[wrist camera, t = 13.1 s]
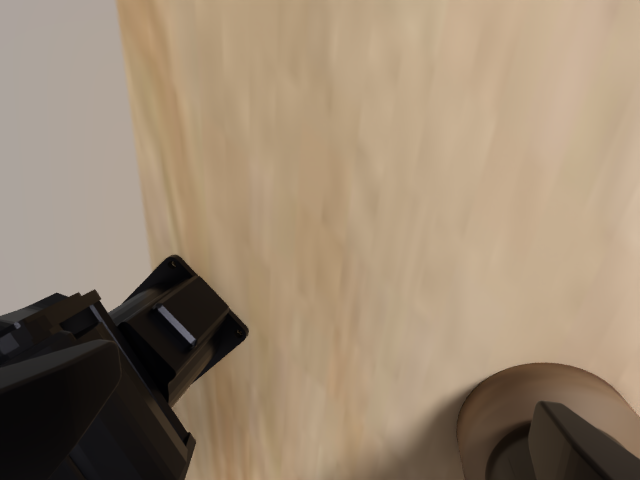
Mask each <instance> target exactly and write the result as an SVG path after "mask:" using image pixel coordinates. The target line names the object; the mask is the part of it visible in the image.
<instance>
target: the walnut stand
mask: <svg viewBox="0 0 640 480" xmlns="http://www.w3.org/2000/svg"><path fill="white" fill-rule="evenodd" d="M540 400H544V401H551V402H559V403H562V404H564V405H565V406H567V407H568V408H569V409H571V410H572V411H574V412H575V413H576V414H578V415H579V416H581V417H582V418H583V419H585V420H586V421H588V422H589V423H590V424H592V425H593V426H594V427H596V428H599V429H601V430H602V431H604V432H606V433H608V434H609V435H611V436H612V437H614V438H615V439H616V440H617V441H619V442H620V443H621V444H622V445H623V446H624V447H625V448H626V449H627V450H628V451H629V452H631V453H632V454H634V455H635V456H636V457H638V458H639V459H640V417H639V416H638V415H637V414H636V412H635V411H634V410H633V409H632V408H631V407H630V405H629V404H628V403H627V402H626V401H625V399H624V398H623V397H622V396H621V395H620V394H619V393H618V392H617V391H616V390H615V389H614V388H613V387H612V386H611V385H610V384H608V383H607V382H606V381H604V380H603V379H601V378H599V377H598V376H596V375H594V374H592V373H590V372H587V371H585V370H583V369H580V368H576V367H573V366H569V365H563V364H557V363H532V364H525V365H520V366H516V367H512V368H509V369H506V370H503V371H501V372H499V373H497V374H495V375H493V376H491V377H489V378H488V379H486V380H485V381H483V382H482V383H481V384H480V385H479V386H477V387H476V388H475V389H474V390H473V391H472V393H471V394H470V395H469V396H468V397H467V399H466V401H465V402H464V404H463V406H462V408H461V410H460V413H459V417H458V421H457V440H458V445H459V451H460V456H461V461H462V466H463V471H464V476H465V480H485V469H486V464H487V461H488V458H489V456H490V454H491V452H492V450H493V449H494V447H495V446H496V445H497V443H498V442H499V441H500V440H501V439H502V438H503V437H504V436H506V435H507V434H508V433H510V432H511V431H513V430H514V429H516V428H518V427H520V426H523V425H525V424H528V423H531V422H532V418H533V413H534V408H535V405H536V403H537V402H538V401H540Z"/></svg>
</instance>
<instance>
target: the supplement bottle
mask: <svg viewBox="0 0 640 480" xmlns="http://www.w3.org/2000/svg"><path fill="white" fill-rule="evenodd" d="M530 427H531V423H528V424H525V425H523V426H520V427H518V428H516V429H514V430H513V431H511V432H510V433H508V434H507V435H506V436H504V437H503V438H502V439H501V440H500V441H499V442H498V443H497V445H496V446H495V447H494V449H493V450H492V452H491V454H490V456H489V458H488V461H487V464H486V469H485V480H537V479H536V474H535V470H534V466H533V462H532V458H531V454H530V449H529V432H530ZM597 429H599V428H597ZM599 430H600V431H601V432H603V433H604V434H606V435H607V436H608V437H610V438H611V439H613V440H614V441H615V442H617V443H618V444H620V445H621V446H622V447H624V446H623V445H622V444H621V443H620V442H619V441H617V440H616V439H615V438H614V437H612V436H611V435H609V434H608V433H606V432H604V431H602V430H601V429H599ZM624 448H625V447H624ZM625 449H626V448H625Z"/></svg>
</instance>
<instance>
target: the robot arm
mask: <svg viewBox="0 0 640 480" xmlns="http://www.w3.org/2000/svg"><path fill="white" fill-rule="evenodd" d="M172 261H173V262H175V264H176V267H174V266H173V265H172ZM99 300H101V298H100V296H99V294H98V293H97V291H96V290H93V291H91V292H89V293H87V294H85V295H83V296H81V294H80V293H76V294H74V295H72V296H70V297H67V296H64V295H62V294H59V293H55V294H53V295H51V296H49V297H47V298H44V299H42V300H40V301H38V302H36V303H34V304H32V305H29V306H27V307H25V308H22V309H20V310H17V311H14V312H11V313H8V314H5V315H2V316H0V480H185V477H186V474H187V470H188V467H189V464H190V461H191V457H192V454H193V451H194V448H195V444H196V440H195V439H194V437H193V436H192V434H191V433H190V432H188V433H187V431H186V430H185V428H184V427H183V425H182V424H181V422H180V421H179V419H178V418H177V416H176V415H175V413H174V412H173V410H172V409H171V408H172V407H173V406H174V404H175V403H176V402H177V401H178V400H179V398H180V397H181V396H182V395H183V393H184V392H185V391H186V390H187V389H188V387H189V386H190V385H191V384H192V383H193V382H195V381H196V380H197V379H198V378H199V377H201V376H202V375H203V374H204V373H205V372H207V371H208V370H209V369H210V368H211V367H213V366H214V365H215V364H216V363H217V362H219V361H220V360H221V359H222V358H223V357H225V356H226V355H227V354H228V353H229V352H231V351H232V350H233V349H234V348H235V347H237V346H238V345H239V344H240V343H241V342H243V341H244V340H245V338H246V337H247V336H248V333H249V331H248V328H247V326H246V325H245V324H244V323H243V322H242V321H241V320H240V319H239V318H238V317H237V316H236V315H235V314H234V313H233V312H232V311H231V310H230V309H229V306H228V305H227V304H226V303H225V302H224V301H223V300H222V299H221V298H220V297H219V296H218V295H217V294H216V292H215V291H214V290H213V289H212V288H211V287H210V286H209V285H208V284H207V283H206V282H205V281H204V280H203V279H202V278H201V277H200V276H198V275H197V274H196V273H195V272H194V271H193V270H192V269H191V268H190V267H189V266H188V265H187V264H186V262H185V261H184V260H183V259H182V258H181V257H179V256H178V255H171V256H169V257H168V258H166V259H165V260H164V261H163V262H162V263H161V264H160V265H159V266H158V267H157V268H156V269H155V270H154V271H153V272H152V273H151V274H150V276H149V277H148V278H147V279H146V280H145V281H144V282H143V283H142V284H141V285H140V286H139V287H138V288H137V289H136V290H135V291H134V292H133V293H132V294H131V295H130V296H129V297H128V298H127V299H126V300H125V301H124V302H123V303H122V304H121V305H120V306H118V307H117V308H115V309H113V310H112V311H110V312H109V313H107V311H106V310H105V308H104V307H103V305H102V304H101V302H100V301H99ZM237 330H239V331H241V332H242V335H240V334H238V333H237ZM529 449H530V454H531V458H532V462H533V466H534V470H535V474H536V479H537V480H640V459H639V458H638V457H636V456H635V455H634V454H632V453H631V452H629V451H628V450H627V449H625V448H624V447H622V446H621V445H620V444H618V443H617V442H615V441H614V440H613V439H611V438H610V437H608V436H607V435H606V434H604V433H603V432H601V431H600V430H599V429H597V428H596V427H594V426H593V425H592V424H590V423H589V422H588V421H586V420H585V419H583V418H582V417H581V416H579V415H578V414H576V413H575V412H574V411H572V410H571V409H569V408H568V407H567V406H565V405H564V404H562V403H559V402H551V401H544V400H540V401H538V402H537V403H536V405H535V408H534V413H533V418H532V422H531V427H530V432H529Z"/></svg>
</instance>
